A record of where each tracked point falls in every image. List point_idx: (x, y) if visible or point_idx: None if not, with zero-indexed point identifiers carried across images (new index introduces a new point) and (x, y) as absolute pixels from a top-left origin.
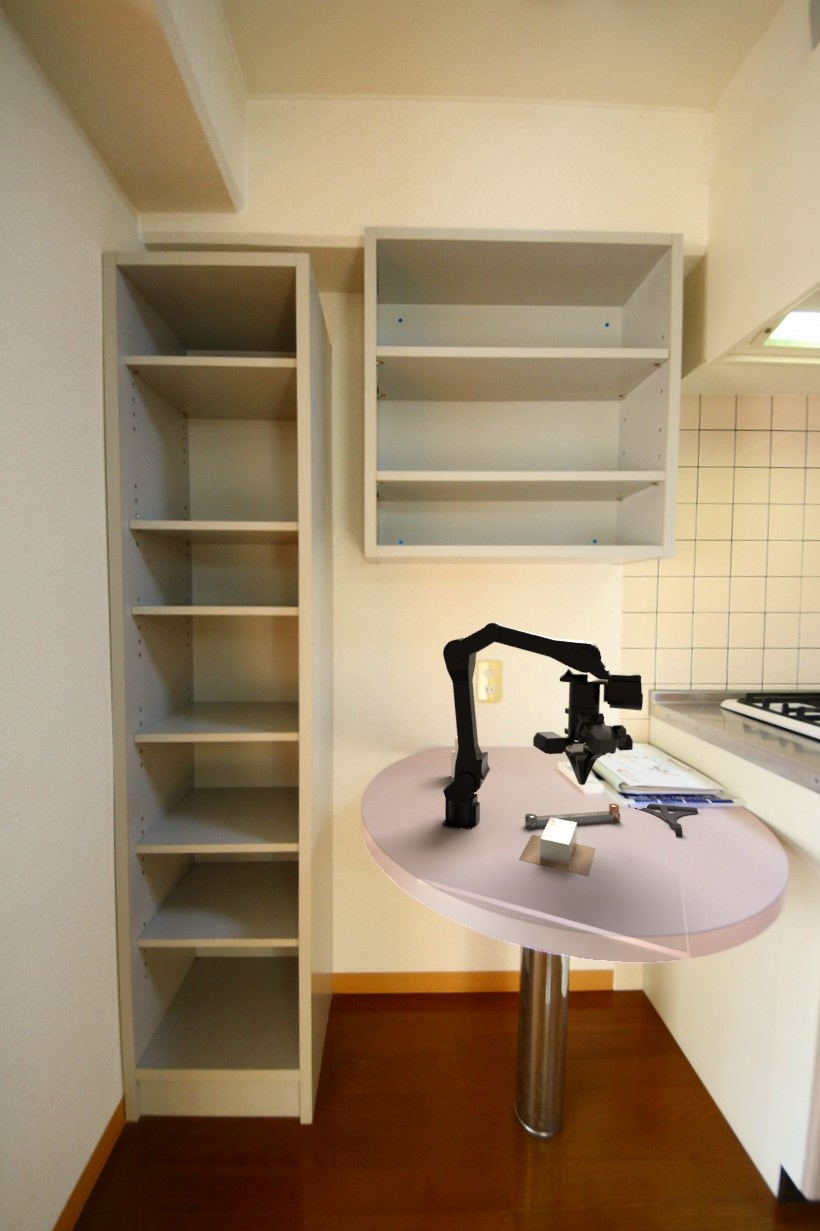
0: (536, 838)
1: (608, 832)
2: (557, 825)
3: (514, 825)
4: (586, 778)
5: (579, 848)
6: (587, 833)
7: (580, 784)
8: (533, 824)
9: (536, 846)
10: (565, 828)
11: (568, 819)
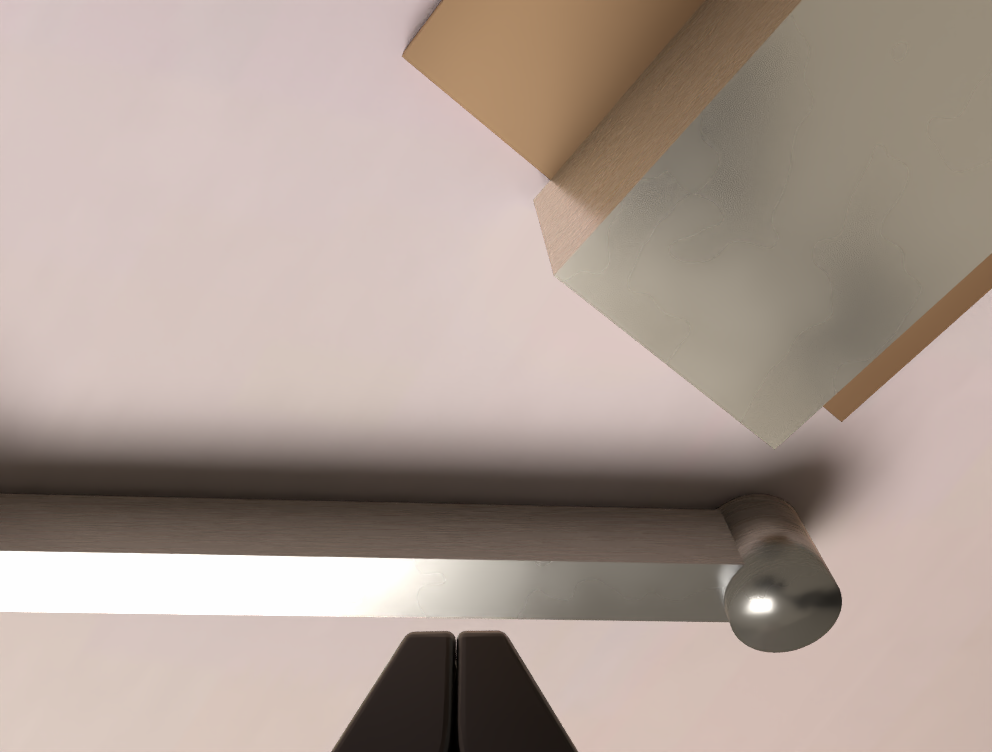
0: None
1: (68, 367)
2: (843, 246)
3: None
4: (378, 732)
5: (575, 81)
6: (286, 386)
7: (500, 653)
8: (778, 529)
9: None
10: (808, 146)
11: (410, 546)
